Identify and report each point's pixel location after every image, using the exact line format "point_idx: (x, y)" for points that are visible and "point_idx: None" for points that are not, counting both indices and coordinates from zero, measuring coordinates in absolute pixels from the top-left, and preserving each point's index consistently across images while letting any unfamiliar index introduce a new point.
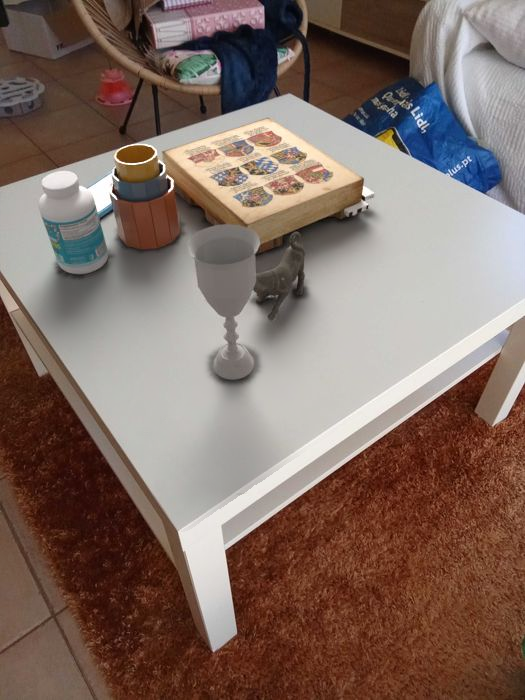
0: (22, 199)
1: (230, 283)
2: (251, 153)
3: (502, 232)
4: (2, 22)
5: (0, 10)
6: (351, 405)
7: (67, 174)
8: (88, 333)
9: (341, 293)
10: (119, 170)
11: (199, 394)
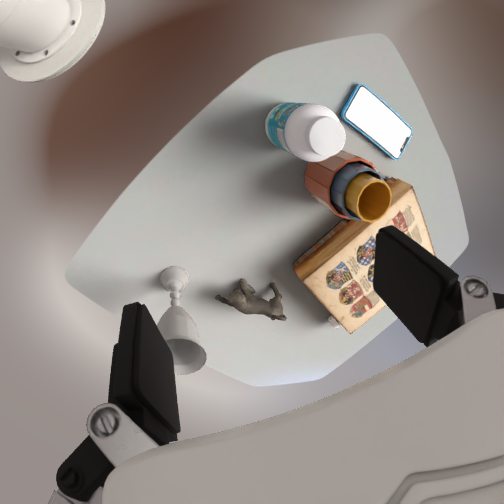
0: (375, 47)
1: None
2: None
3: (309, 376)
4: (377, 285)
5: (388, 304)
6: None
7: (338, 143)
8: (187, 163)
9: (253, 323)
10: (357, 184)
11: (142, 265)
